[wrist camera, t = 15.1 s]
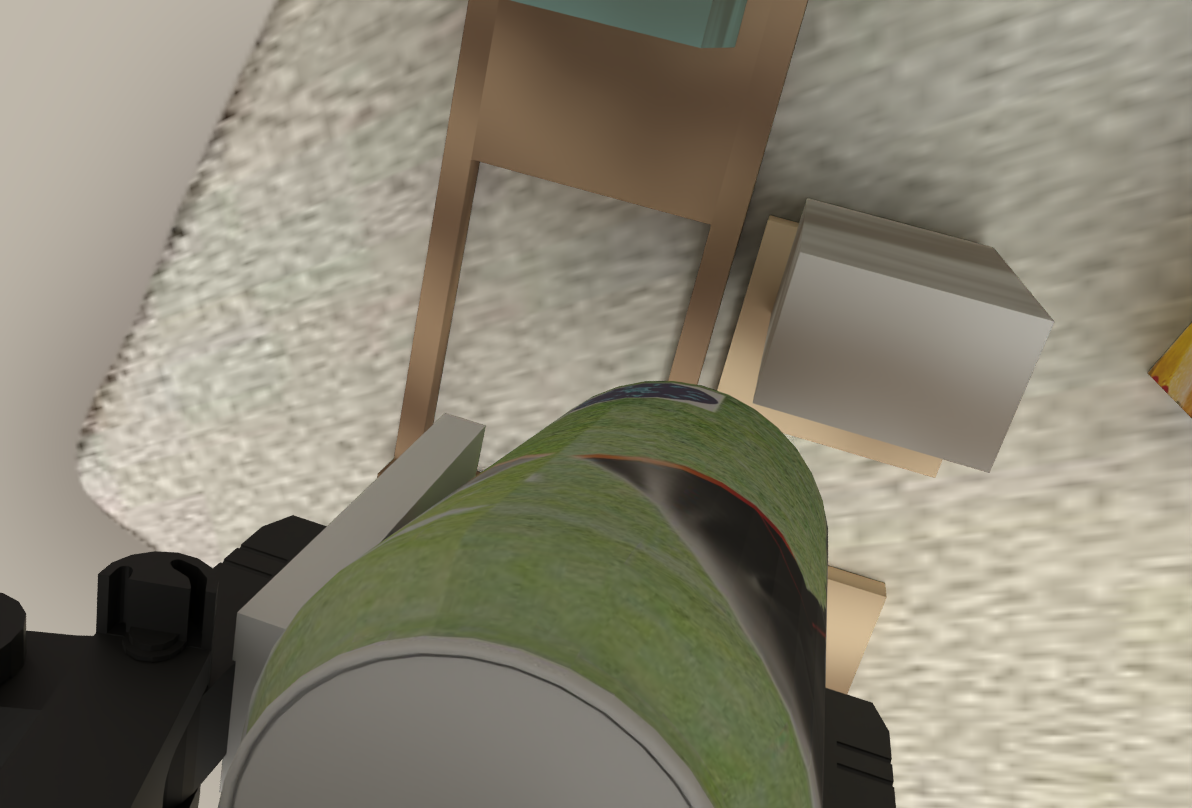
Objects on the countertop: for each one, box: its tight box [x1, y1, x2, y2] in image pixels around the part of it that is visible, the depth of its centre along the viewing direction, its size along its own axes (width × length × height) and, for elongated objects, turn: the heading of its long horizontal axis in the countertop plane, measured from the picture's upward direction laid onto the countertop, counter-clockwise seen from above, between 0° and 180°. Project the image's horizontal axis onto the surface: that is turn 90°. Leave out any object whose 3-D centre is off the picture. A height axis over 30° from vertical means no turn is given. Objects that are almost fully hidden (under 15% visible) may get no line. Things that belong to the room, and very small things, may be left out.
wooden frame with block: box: [377, 0, 808, 478], centre depth 30 cm, size 22×10×10 cm, turn 167°
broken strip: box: [717, 198, 1054, 694], centre depth 31 cm, size 21×8×10 cm, turn 167°
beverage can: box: [218, 381, 828, 808], centre depth 14 cm, size 6×7×12 cm
